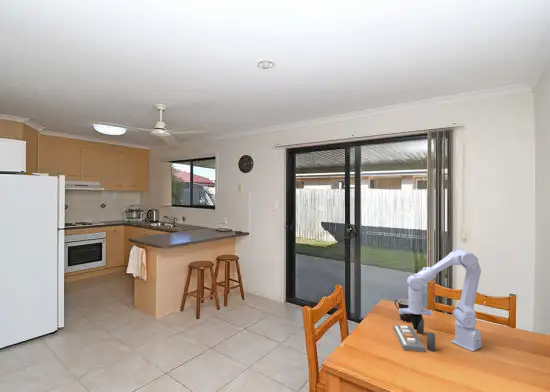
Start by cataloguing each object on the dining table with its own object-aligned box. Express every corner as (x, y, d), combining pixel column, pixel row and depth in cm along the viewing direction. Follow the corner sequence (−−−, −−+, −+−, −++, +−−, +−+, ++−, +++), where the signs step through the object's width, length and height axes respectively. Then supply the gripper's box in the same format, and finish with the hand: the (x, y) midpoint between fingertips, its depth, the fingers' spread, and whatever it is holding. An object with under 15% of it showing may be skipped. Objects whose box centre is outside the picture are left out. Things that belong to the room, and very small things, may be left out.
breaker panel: (393, 328, 145) (393, 322, 145) (411, 330, 144) (411, 323, 144) (403, 350, 126) (403, 342, 126) (424, 351, 124) (424, 344, 124)
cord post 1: (425, 333, 140) (425, 319, 140) (421, 335, 138) (421, 321, 138) (419, 331, 143) (419, 317, 143) (415, 332, 141) (415, 319, 141)
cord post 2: (436, 350, 125) (436, 334, 125) (432, 352, 124) (432, 336, 124) (429, 346, 128) (429, 331, 128) (425, 348, 126) (425, 333, 126)
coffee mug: (418, 323, 151) (417, 305, 151) (402, 323, 151) (401, 305, 151) (408, 313, 163) (407, 297, 163) (393, 314, 163) (393, 297, 163)
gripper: (428, 298, 136) (428, 326, 136) (397, 297, 139) (397, 324, 139) (433, 304, 129) (434, 333, 130) (400, 302, 132) (401, 330, 132)
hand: (415, 328), depth 134 cm, fingers closed
